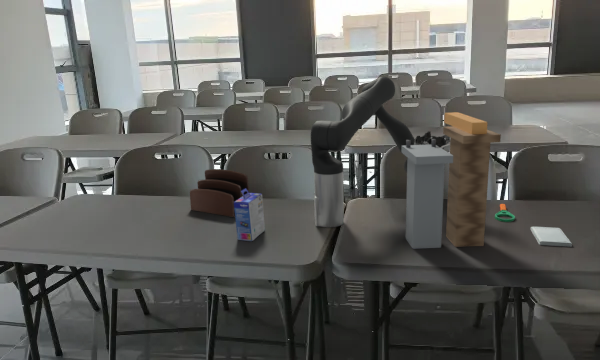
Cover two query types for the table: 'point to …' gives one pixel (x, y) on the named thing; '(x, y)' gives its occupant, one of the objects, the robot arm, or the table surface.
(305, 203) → the table surface
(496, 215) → the magnifying glass
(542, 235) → the hard drive
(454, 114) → the orange bar
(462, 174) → the tall walnut stand
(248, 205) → the ink cartridge box
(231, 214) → the letter holder
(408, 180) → the tall gray pegged stand
